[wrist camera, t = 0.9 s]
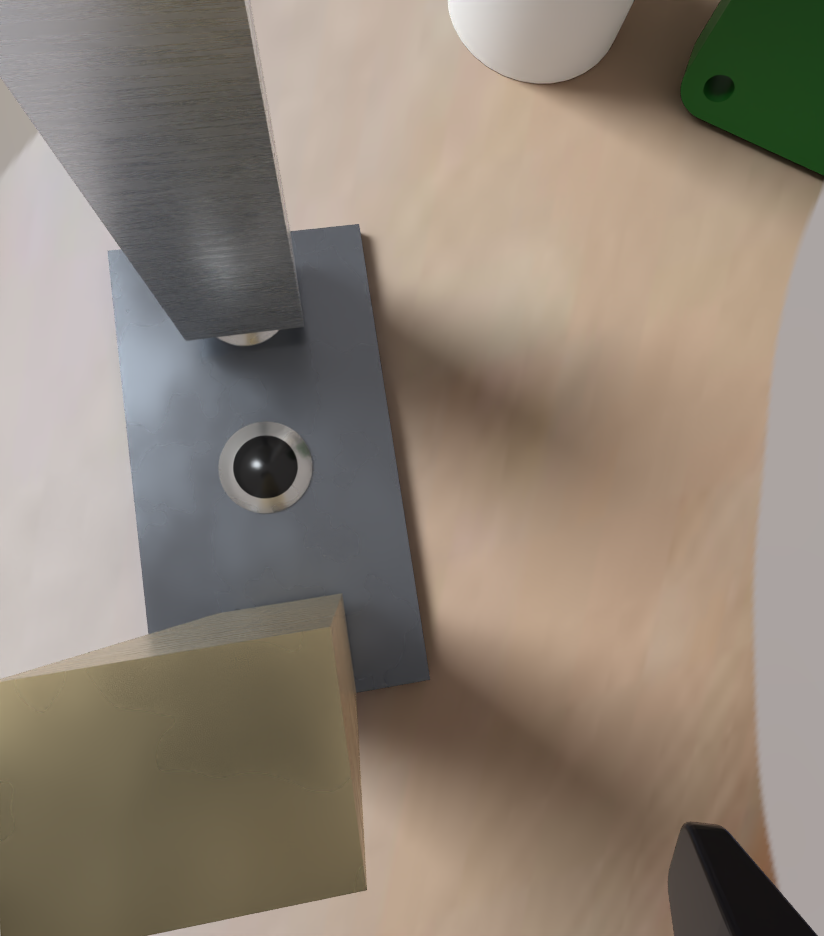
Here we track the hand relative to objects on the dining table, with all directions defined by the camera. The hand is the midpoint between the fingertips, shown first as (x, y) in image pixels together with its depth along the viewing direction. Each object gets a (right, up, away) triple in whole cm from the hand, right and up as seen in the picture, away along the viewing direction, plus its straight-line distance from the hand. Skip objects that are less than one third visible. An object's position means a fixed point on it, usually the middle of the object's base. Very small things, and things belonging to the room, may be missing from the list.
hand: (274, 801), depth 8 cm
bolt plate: (-4, +4, +17) cm, 18 cm away
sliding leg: (-3, -2, +16) cm, 17 cm away
